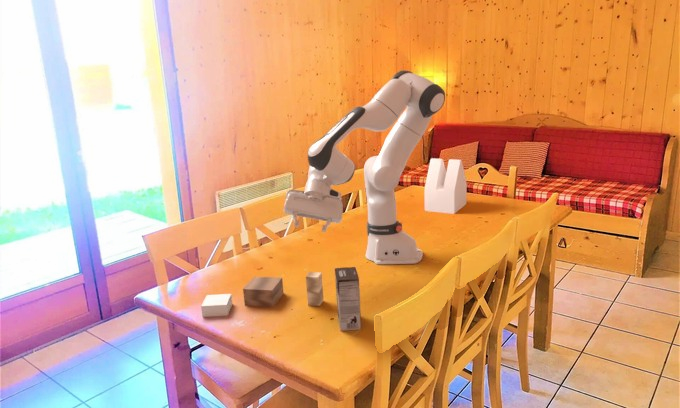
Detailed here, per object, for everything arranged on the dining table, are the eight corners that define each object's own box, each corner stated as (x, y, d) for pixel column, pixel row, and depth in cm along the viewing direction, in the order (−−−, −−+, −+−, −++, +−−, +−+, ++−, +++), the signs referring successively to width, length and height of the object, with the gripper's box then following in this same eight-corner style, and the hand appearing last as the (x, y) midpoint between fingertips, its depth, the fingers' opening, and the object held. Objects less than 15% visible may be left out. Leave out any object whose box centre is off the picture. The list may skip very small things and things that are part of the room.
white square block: (232, 304, 172) (231, 293, 171) (228, 316, 164) (226, 304, 163) (208, 306, 172) (206, 295, 171) (202, 317, 164) (201, 306, 163)
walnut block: (283, 294, 178) (282, 277, 176) (273, 307, 168) (272, 290, 167) (256, 292, 180) (254, 276, 178) (244, 305, 171) (242, 289, 169)
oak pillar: (323, 300, 171) (321, 272, 168) (319, 306, 167) (317, 277, 164) (311, 299, 172) (309, 271, 169) (308, 305, 168) (305, 276, 165)
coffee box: (337, 316, 160) (334, 267, 155) (358, 314, 160) (355, 265, 156) (339, 331, 151) (336, 280, 147) (361, 329, 151) (359, 278, 147)
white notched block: (454, 214, 255) (454, 163, 249) (424, 211, 263) (424, 162, 256) (466, 204, 271) (466, 156, 264) (438, 201, 279) (438, 155, 272)
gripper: (287, 183, 179) (279, 218, 172) (346, 194, 180) (340, 229, 173) (287, 192, 185) (279, 227, 178) (343, 203, 186) (338, 237, 179)
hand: (309, 228), depth 176 cm, fingers open, 8 cm apart
